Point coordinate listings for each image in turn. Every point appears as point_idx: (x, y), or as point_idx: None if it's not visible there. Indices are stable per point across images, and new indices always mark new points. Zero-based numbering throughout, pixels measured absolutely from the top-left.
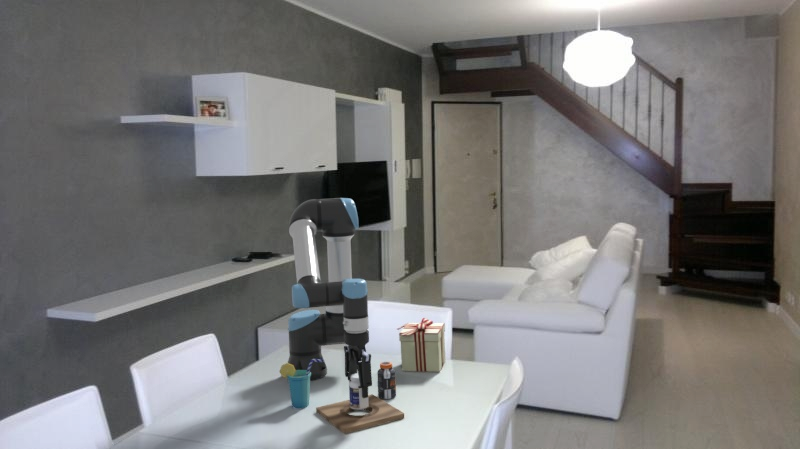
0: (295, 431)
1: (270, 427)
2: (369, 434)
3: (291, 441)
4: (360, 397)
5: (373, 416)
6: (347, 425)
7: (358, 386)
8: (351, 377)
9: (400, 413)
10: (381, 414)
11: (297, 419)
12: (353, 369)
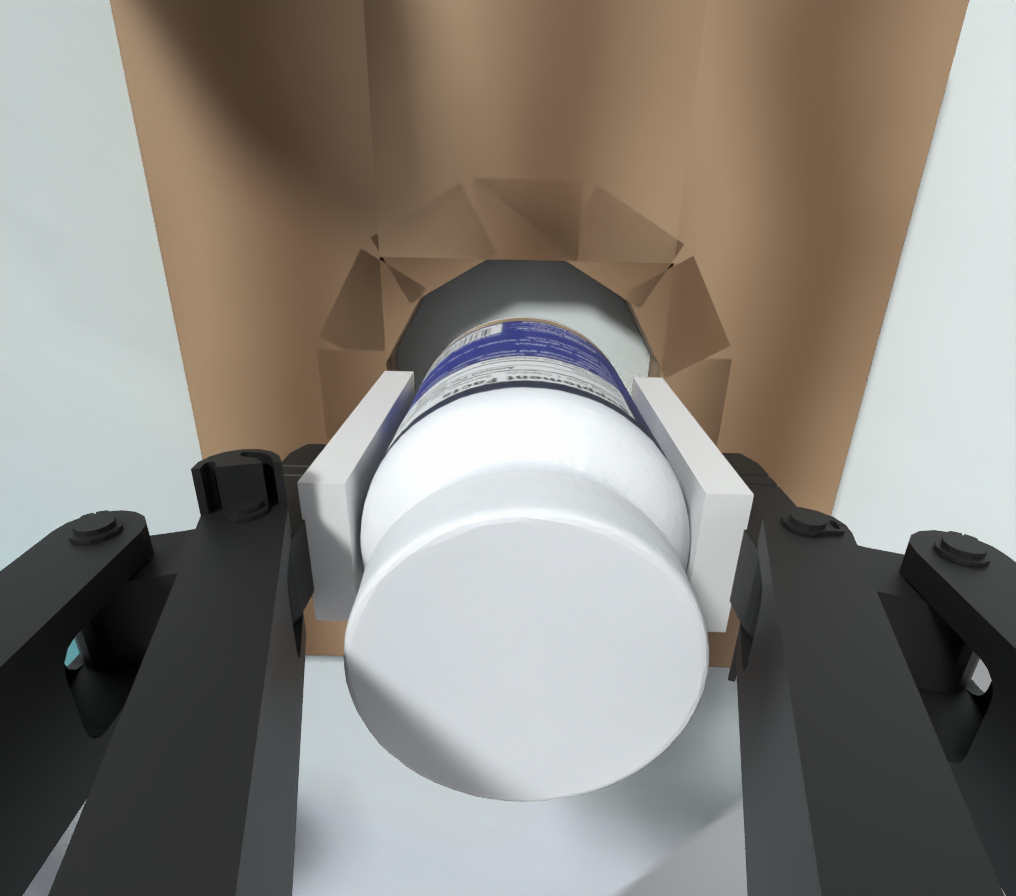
0: (507, 821)
1: (363, 884)
2: (929, 514)
3: (626, 874)
4: None
5: (759, 367)
6: None
7: (735, 677)
8: (526, 794)
9: (935, 48)
10: (778, 268)
11: (324, 755)
12: (281, 767)
